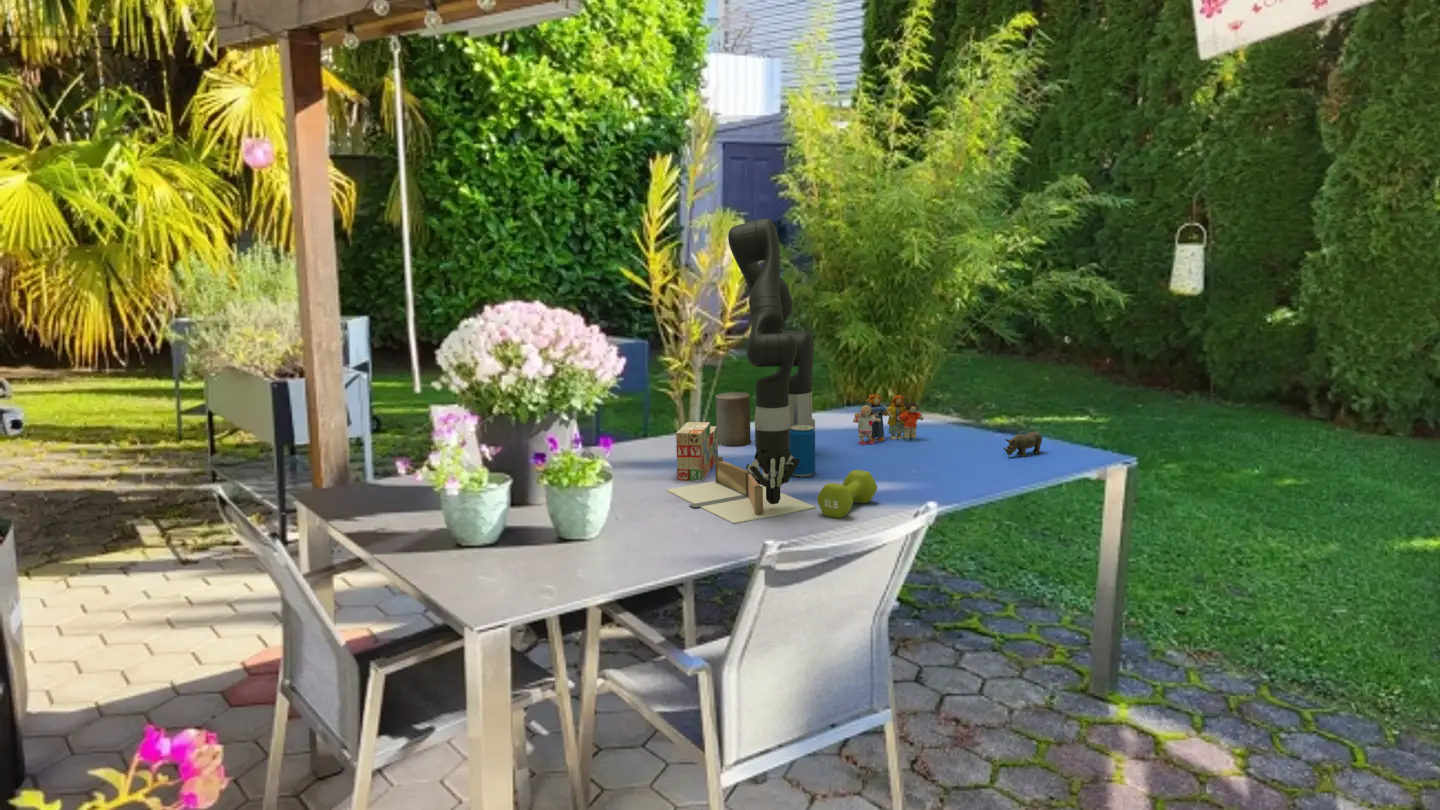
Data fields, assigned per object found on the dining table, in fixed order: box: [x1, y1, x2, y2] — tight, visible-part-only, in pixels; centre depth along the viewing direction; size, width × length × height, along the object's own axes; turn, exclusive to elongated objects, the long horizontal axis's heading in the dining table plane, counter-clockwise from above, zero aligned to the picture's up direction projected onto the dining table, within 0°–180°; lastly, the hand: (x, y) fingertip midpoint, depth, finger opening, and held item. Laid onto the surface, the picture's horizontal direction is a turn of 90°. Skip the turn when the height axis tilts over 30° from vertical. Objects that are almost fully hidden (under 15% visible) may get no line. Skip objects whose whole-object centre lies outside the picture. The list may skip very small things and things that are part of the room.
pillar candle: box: [715, 390, 752, 447], centre depth 289 cm, size 10×10×15 cm
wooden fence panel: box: [714, 456, 750, 496], centre depth 241 cm, size 2×16×6 cm, turn 30°
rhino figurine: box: [1003, 430, 1043, 458], centre depth 270 cm, size 4×14×6 cm, turn 121°
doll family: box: [852, 393, 924, 446], centre depth 290 cm, size 21×10×13 cm, turn 104°
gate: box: [748, 474, 763, 514], centre depth 227 cm, size 2×14×6 cm, turn 5°
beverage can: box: [789, 425, 816, 477], centre depth 253 cm, size 6×6×12 cm
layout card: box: [665, 480, 816, 524], centre depth 234 cm, size 23×31×1 cm
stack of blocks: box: [675, 421, 719, 482], centre depth 260 cm, size 21×6×12 cm, turn 169°
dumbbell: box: [816, 469, 878, 519], centre depth 225 cm, size 16×8×7 cm, turn 147°
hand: (773, 503), depth 225 cm, fingers closed
